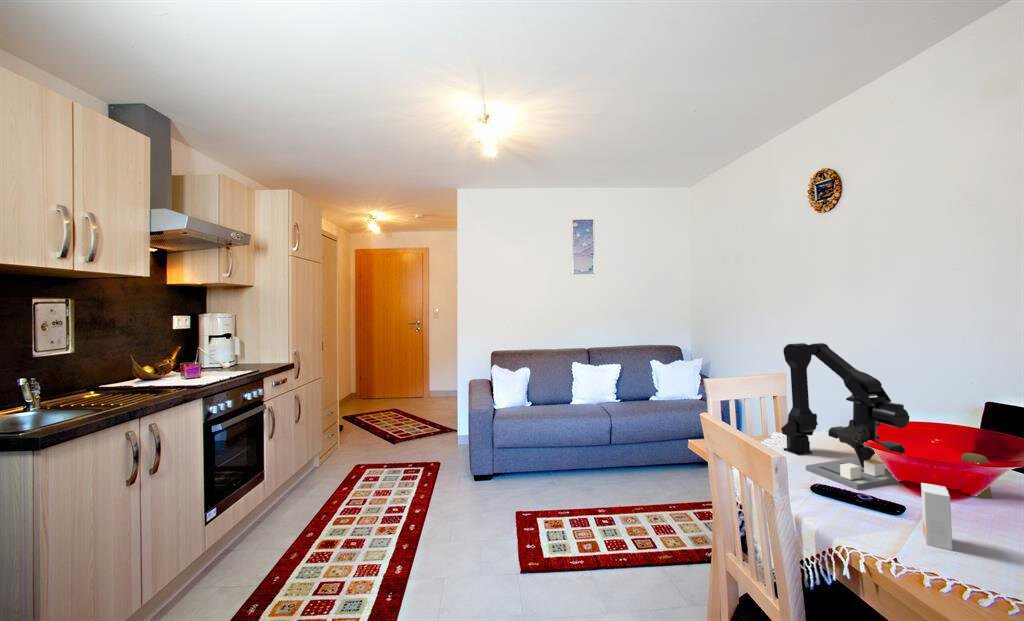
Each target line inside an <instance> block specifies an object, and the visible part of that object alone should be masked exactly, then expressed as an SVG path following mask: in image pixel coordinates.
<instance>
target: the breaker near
mask: <svg viewBox="0 0 1024 621" xmlns="http://www.w3.org/2000/svg"><path fill="white" fill-rule="evenodd" d="M840 476H841V477H844V478H847V479H850V480H853V479H859V478H861V468H860V466H858V465H855V464H852V463H847V464H840Z"/></svg>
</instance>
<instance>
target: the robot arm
mask: <svg viewBox="0 0 1024 621" xmlns="http://www.w3.org/2000/svg"><path fill="white" fill-rule="evenodd" d="M783 356H784V360H785V362H786V364H787V365H788V367H789V369H790V384H791V400H792V401H791V402H792V407H791V410H789V413H788V416H787V422H786V423H785V424H784V425H783V426H782V427H781V428H780V430H781V433H782V435H784V436H786V447H784V448H783V450H784V451H787V452H789V453H791V454H795V455H796V456H797V455H798V456H803V455H808V454H813V451H811V442H810V441H809V439H810V438H809V436H813V434H814V432H815V431H816V429H817V426H818V425H819V424H818V415H817V413H813V411H812V410H811V407H810V401H809V400H810V399H809V385H808V384H809V382H808V367H809V365H810V363H811V361H812V356H814V357H816V358H817V360H820V361H821V362H822V363H823V364H824V365H825V366H826V367H827V368H829V369H830V370H831V371H832V372H834V373H835V374H836V376H837V375H838V377H840V378H841V380H843V384H844V386H845V387H846V389H847V390H848V391H849V392H850V394H851V395H850V396H847V397H846V398H845V400H846V401H849V402H851V403H852V406H853V408H852V409H853V410H852V419H849V421H848V426H841V425H840V426H834V427H830V428H829V429H828V430H827V431H828V435H827V436H828V437H831V438H832V439H833V438H834V439H838V441H839V443H842V444H843V443H844V444H846V445H848V446H850V447H851V448H853V450H854V451H855V453H856V455H857V456H856V457H858V458H859V461H860V463H861V467H863V468H864V461H865V460H872V457H873V456H874V455H875V454H876V453H875V452H874V450H873V449H872V448H870V447H868V446H865V445H863V443H864V442H867V441H868V440H872V441H875V442H877V443H878V444H880V445H882V446H884V447H885V448H886V449H887V450H890V451H895V452H899V453H905V454H906V448H905V446H904V445H903V444H901V443H898V442H894V441H890V440H887V441H886V440H885V441H878V440H881V438H880V437H881V436H880V435H878V432H877V431H878V430H877V429H878V427H880V426H881V424H883V425H886V426H890V427H894V428H896V429H904V428H906V427H907V425H908V424H909V422H910V415H909V413H908V410H906V409H905V408H904V406H905V405H904V404H902V403H895V402H892V400H891V398H890V397H889V395H888V394H887V392H886V391H885V389H884V388H883V387H882V383H881V381H880V380H879V379H877V378H876V377H874V376H872V375H870V374H869V373H866V372H865V371H860V370H858V369H857V368H855V367H854V366H853V365H852V364H851V363H849V362H848V361H846V360H845V359H844V358H842V357H841V356H840V355H839V354H838V353H836V352H835V351H833V350H832V349H831V348H830V347H829V345H828V344H827V343H823V342H820V343H819V342H815V343H812V344H807V343H805V342H801V343H789V344H786V345H785V346H783ZM857 441H858V442H857Z"/></svg>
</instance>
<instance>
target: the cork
mask: <svg viewBox="0 0 1024 621" xmlns="http://www.w3.org/2000/svg"><path fill="white" fill-rule="evenodd" d="M960 458H961V462H962V461H965V462H976V463H989V464H990V461H989V459H988V458H987V457H986V456H985V455H982V454H978V453H974V452H973V453H972V452H965V453H963V454H962V455H961V457H960ZM974 498H977V499H983V500H984V499H986V500H987V499H988V500H989V499H992V498H993V495H992V490H991V486H989V487H988V488H987V489H985V490H984V491H982V492H981V493H980V494H978V495H977V496H975V497H974Z"/></svg>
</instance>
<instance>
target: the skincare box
mask: <svg viewBox="0 0 1024 621" xmlns="http://www.w3.org/2000/svg"><path fill="white" fill-rule="evenodd" d="M920 489H921V490H920V491H921V492H920V493H921V514H922V515H921V516H922V534H923V537H924V540H925V545H927V546H931V547H935V548H939V549H942V550H943V549H944V550H947V551H948V550H949V551H953V534H952V533H953V530H952V510H951V495H950V492H949V490H948V489H947V487H946V486H942V485H937V484H931V483H924V482H921V483H920Z"/></svg>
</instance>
